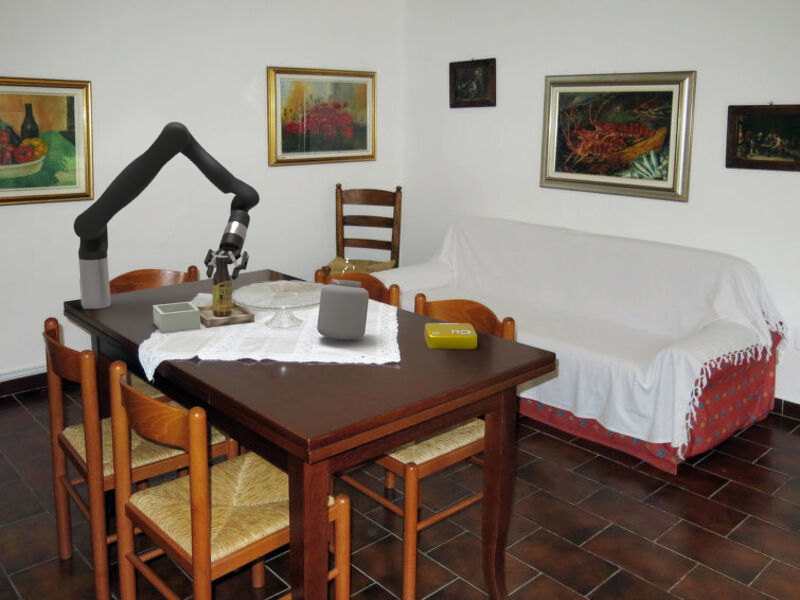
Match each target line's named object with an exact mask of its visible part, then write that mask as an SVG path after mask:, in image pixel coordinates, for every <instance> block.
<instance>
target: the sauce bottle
mask: <svg viewBox="0 0 800 600" xmlns="http://www.w3.org/2000/svg"><path fill="white" fill-rule="evenodd" d="M215 257H216V267H215V271H214V272H213V274H212V286H211V287H212V305H213V315H215V316H228V315H230V314H231V310H232V303H233V301H232V300H233V299H232V297H233V296H232V292H233V291H232V290H233V289H232V281H233V280H232V277H231V275H230V272H229V266H228V265H229V264H228V256H217V255H215Z"/></svg>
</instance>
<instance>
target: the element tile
mask: <svg viewBox="0 0 800 600" xmlns="http://www.w3.org/2000/svg"><path fill="white" fill-rule="evenodd" d="M424 339H425V342H426V347H427V348H429V349H433V350H439V349H440V350H474V349H477V348H478V333H476V330H475V329H474V327H473V325H472V324H471V323H469V322H467V323H466V322H464V323H463V322H461V323H459V322H453V323H452V322H426V324H424Z"/></svg>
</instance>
